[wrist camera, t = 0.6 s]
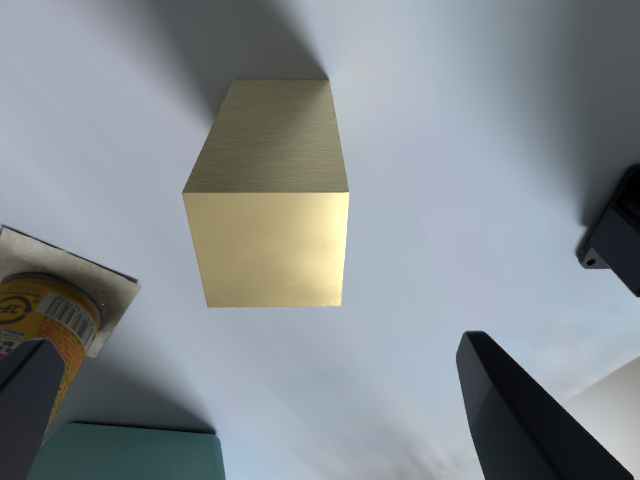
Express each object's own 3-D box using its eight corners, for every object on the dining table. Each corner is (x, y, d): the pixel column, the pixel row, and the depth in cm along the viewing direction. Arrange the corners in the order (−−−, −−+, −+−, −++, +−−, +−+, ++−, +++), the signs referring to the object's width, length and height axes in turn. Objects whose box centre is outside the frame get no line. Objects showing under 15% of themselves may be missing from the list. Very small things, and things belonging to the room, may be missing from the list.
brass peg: (329, 79, 17) (348, 192, 10) (326, 166, 19) (340, 305, 12) (233, 79, 17) (181, 193, 10) (242, 165, 19) (207, 307, 12)
